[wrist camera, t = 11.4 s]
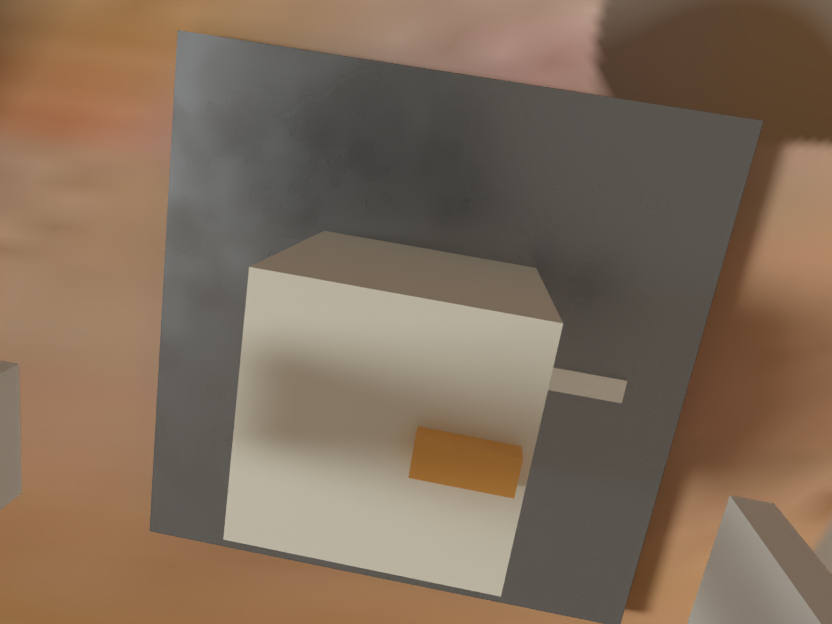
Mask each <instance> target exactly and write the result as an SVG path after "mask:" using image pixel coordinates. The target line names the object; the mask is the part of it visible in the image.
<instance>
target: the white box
mask: <svg viewBox="0 0 832 624" xmlns="http://www.w3.org/2000/svg"><path fill="white" fill-rule="evenodd" d="M562 327H563V322H562V320H561V318H560V316H559V314H558V312H557V310H556V308H555V305H554V303H553V301H552V299H551V297H550V295H549V293H548V291H547V289H546V287H545V285H544V283H543V281H542V279H541V277H540V275H539V273H538V271H537V269H536V268H534V267H528V266H523V265H517V264H511V263H506V262H500V261H494V260H489V259H483V258H477V257H471V256H466V255H460V254H454V253H449V252H443V251H437V250H432V249H426V248H420V247H414V246H409V245H403V244H397V243H392V242H386V241H380V240H375V239H369V238H363V237H357V236H352V235H346V234H340V233H335V232H329V231H323V232H321V233H319V234H317V235H315V236H313V237H310V238H308V239H306V240H304V241H302V242H300V243H298V244H296V245H294V246H292V247H290V248H287V249H285V250H283V251H281V252H279V253H277V254H275V255H273V256H271V257H269V258H267V259H264V260H262V261H260V262H258V263H256V264H254V265H252V266H250V267H249V274H248V284H247V295H246V305H245V316H244V326H243V337H242V347H241V358H240V369H239V379H238V390H237V400H236V411H235V421H234V432H233V442H232V453H231V464H230V474H229V485H228V495H227V506H226V516H225V527H224V537H223V540H228V541H233V542H238V543H243V544H248V545H252V546H257V547H262V548H267V549H272V550H277V551H282V552H286V553H291V554H296V555H301V556H306V557H311V558H316V559H320V560H325V561H330V562H335V563H340V564H345V565H349V566H354V567H359V568H364V569H369V570H374V571H379V572H383V573H388V574H393V575H398V576H403V577H408V578H413V579H417V580H422V581H427V582H432V583H437V584H442V585H446V586H451V587H456V588H461V589H466V590H471V591H476V592H480V593H485V594H490V595H495V596H500V597H501V594H502V589H503V585H504V581H505V576H506V572H507V567H508V563H509V559H510V554H511V550H512V546H513V541H514V537H515V532H516V528H517V524H518V519H519V515H520V511H521V506H522V502H523V497H524V493H525V489H526V484H527V480H528V476H529V471H530V467H531V462H532V458H533V454H534V449H535V445H536V441H537V436H538V432H539V427H540V423H541V419H542V414H543V410H544V406H545V401H546V397H547V392H548V388H549V384H550V379H551V375H552V371H553V366H554V362H555V357H556V353H557V349H558V344H559V340H560V336H561V331H562Z"/></svg>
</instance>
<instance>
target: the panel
mask: <svg viewBox="0 0 832 624" xmlns="http://www.w3.org/2000/svg"><path fill="white" fill-rule="evenodd" d="M762 123H763V121H761V120H754V119H748V118H742V117H735V116H728V115H722V114H716V113H709V112H702V111H696V110H690V109H683V108H677V107H670V106H664V105H658V104H651V103H645V102H638V101H632V100H625V99H619V98H612V97H606V96H599V95H593V94H586V93H580V92H573V91H567V90H561V89H554V88H548V87H541V86H535V85H528V84H522V83H515V82H509V81H502V80H496V79H489V78H483V77H477V76H470V75H464V74H457V73H451V72H444V71H438V70H431V69H425V68H418V67H412V66H405V65H399V64H393V63H386V62H380V61H373V60H367V59H360V58H354V57H347V56H341V55H334V54H328V53H321V52H315V51H308V50H302V49H296V48H289V47H283V46H276V45H270V44H263V43H257V42H250V41H244V40H237V39H231V38H224V37H218V36H212V35H205V34H199V33H192V32H186V31H179V30H178V36H177V53H176V71H175V89H174V107H173V124H172V142H171V160H170V178H169V195H168V213H167V231H166V249H165V267H164V284H163V302H162V320H161V338H160V355H159V373H158V391H157V409H156V426H155V444H154V462H153V480H152V498H151V515H150V531H151V532H156V533H161V534H166V535H171V536H176V537H181V538H186V539H191V540H196V541H201V542H205V543H210V544H215V545H220V546H225V547H230V548H235V549H240V550H245V551H250V552H255V553H260V554H264V555H269V556H274V557H279V558H284V559H289V560H294V561H299V562H304V563H309V564H314V565H319V566H323V567H328V568H333V569H338V570H343V571H348V572H353V573H358V574H363V575H368V576H373V577H378V578H383V579H387V580H392V581H397V582H402V583H407V584H412V585H417V586H422V587H427V588H432V589H437V590H442V591H446V592H451V593H456V594H461V595H466V596H471V597H476V598H481V599H486V600H491V601H496V602H501V603H505V604H510V605H515V606H520V607H525V608H530V609H535V610H540V611H545V612H550V613H555V614H560V615H565V616H569V617H574V618H579V619H584V620H589V621H594V622H599V623H604V624H621V620H622V617H623V613H624V610H625V606H626V603H627V599H628V596H629V592H630V589H631V585H632V582H633V578H634V574H635V571H636V567H637V564H638V560H639V557H640V553H641V550H642V546H643V543H644V539H645V536H646V532H647V529H648V525H649V522H650V518H651V515H652V511H653V508H654V504H655V501H656V497H657V493H658V490H659V486H660V483H661V479H662V476H663V472H664V469H665V465H666V462H667V458H668V455H669V451H670V448H671V444H672V441H673V437H674V434H675V430H676V427H677V423H678V420H679V416H680V412H681V409H682V405H683V402H684V398H685V395H686V391H687V388H688V384H689V381H690V377H691V374H692V370H693V367H694V363H695V360H696V356H697V353H698V349H699V346H700V342H701V339H702V335H703V331H704V328H705V324H706V321H707V317H708V314H709V310H710V307H711V303H712V300H713V296H714V293H715V289H716V286H717V282H718V279H719V275H720V272H721V268H722V265H723V261H724V258H725V254H726V251H727V247H728V243H729V240H730V236H731V233H732V229H733V226H734V222H735V219H736V215H737V212H738V208H739V205H740V201H741V198H742V194H743V191H744V187H745V184H746V180H747V177H748V173H749V170H750V166H751V162H752V159H753V155H754V152H755V148H756V145H757V141H758V138H759V134H760V131H761V127H762ZM323 231H329V232H335V233H340V234H346V235H352V236H357V237H363V238H369V239H375V240H380V241H386V242H392V243H397V244H403V245H409V246H414V247H420V248H426V249H432V250H437V251H443V252H449V253H454V254H460V255H466V256H471V257H477V258H483V259H489V260H494V261H500V262H506V263H511V264H517V265H523V266H528V267H534V268H536V269H537V271H538V273H539V275H540V277H541V279H542V281H543V283H544V285H545V287H546V289H547V291H548V293H549V295H550V297H551V299H552V301H553V303H554V305H555V308H556V310H557V312H558V314H559V316H560V318H561V320H562V322H563V327H562V331H561V336H560V340H559V344H558V349H557V353H556V357H555V362H554V366H553V371H552V375H551V379H550V384H549V388H548V392H547V397H546V401H545V406H544V410H543V414H542V419H541V423H540V427H539V432H538V436H537V441H536V445H535V449H534V454H533V458H532V462H531V467H530V471H529V476H528V480H527V484H526V489H525V493H524V497H523V502H522V506H521V511H520V515H519V519H518V524H517V528H516V532H515V537H514V541H513V546H512V550H511V554H510V559H509V563H508V567H507V572H506V576H505V581H504V585H503V589H502V594H501V597H500V596H495V595H490V594H485V593H480V592H476V591H471V590H466V589H461V588H456V587H451V586H446V585H442V584H437V583H432V582H427V581H422V580H417V579H413V578H408V577H403V576H398V575H393V574H388V573H383V572H379V571H374V570H369V569H364V568H359V567H354V566H349V565H345V564H340V563H335V562H330V561H325V560H320V559H316V558H311V557H306V556H301V555H296V554H291V553H286V552H282V551H277V550H272V549H267V548H262V547H257V546H252V545H248V544H243V543H238V542H233V541H228V540H223V537H224V527H225V516H226V506H227V495H228V485H229V474H230V464H231V453H232V442H233V432H234V421H235V411H236V400H237V390H238V379H239V369H240V358H241V347H242V337H243V326H244V316H245V305H246V295H247V284H248V274H249V267H250V266H252V265H254V264H256V263H258V262H260V261H262V260H264V259H267V258H269V257H271V256H273V255H275V254H277V253H279V252H281V251H283V250H285V249H287V248H290V247H292V246H294V245H296V244H298V243H300V242H302V241H304V240H306V239H308V238H310V237H313V236H315V235H317V234H319V233H321V232H323Z"/></svg>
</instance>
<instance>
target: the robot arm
mask: <svg viewBox="0 0 832 624" xmlns="http://www.w3.org/2000/svg"><path fill="white" fill-rule="evenodd" d="M21 493H22V480H21V431H20V381H19V364H17V363H11V362H6V361H0V510H1V509H2V508H3V507H4V506H6V505H7V504H8V503H10V502H11V501H12V500H13V499H15V498H16V497H17V496H19V495H20V494H21ZM688 624H832V574H831V573H830V572H829V570H828V569H827V568H826V567H825V565H824V564H823V563H822V562H821V561H820V559H819V558H818V557H817V556H816V554H815V553H814V552H813V551H812V550H811V548H810V547H809V546H808V545H807V543H806V542H805V541H804V540H803V538H802V537H801V536H800V535H799V534H798V532H797V531H796V530H795V529H794V527H793V526H792V525H791V524H790V523H789V521H788V520H787V519H786V518H785V516H784V515H783V514H782V513H781V511H780V510H779V509H778V508H777V507H776V505H775V504H774V503H769V502H764V501H758V500H753V499H747V498H742V497H737V496H731V495H730V497H729V500H728V503H727V506H726V509H725V512H724V515H723V518H722V521H721V524H720V527H719V530H718V533H717V536H716V539H715V542H714V545H713V548H712V551H711V554H710V557H709V560H708V563H707V566H706V569H705V572H704V575H703V578H702V581H701V584H700V587H699V590H698V593H697V596H696V599H695V602H694V605H693V608H692V611H691V614H690V617H689V620H688Z"/></svg>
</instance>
